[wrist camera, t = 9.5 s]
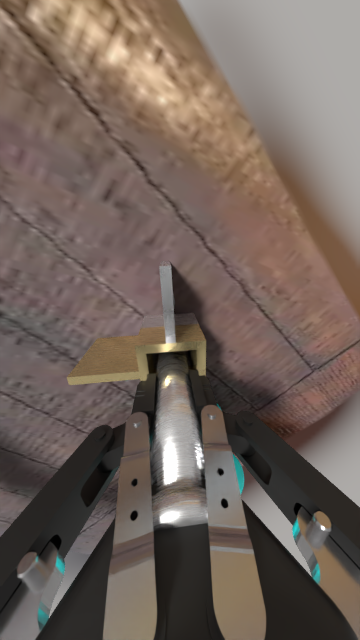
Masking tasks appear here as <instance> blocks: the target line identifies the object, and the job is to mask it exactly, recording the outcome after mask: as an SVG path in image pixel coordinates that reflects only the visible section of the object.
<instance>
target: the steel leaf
mask: <svg viewBox="0 0 360 640" xmlns="http://www.w3.org/2000/svg"><path fill="white" fill-rule="evenodd" d="M159 268H160V279H161V291H162V303H163V315H151V316H145V317H144V320H143V323H142V326H141V328H149V327H163V326H165V338H166V344H167V343H176V338H175V326H177V325H190V324H198V322H197V319H196V317H195V315H194V313H180V314H174V306H175V299H174V295H173V288H172V272H171V264H170V262H169V261H162V262H161V264H160V266H159ZM185 354H186V359H187V364H188V366H192V360H191V350H186V351H185ZM152 357H153V365H154V369H157V363H158V353H152Z"/></svg>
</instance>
